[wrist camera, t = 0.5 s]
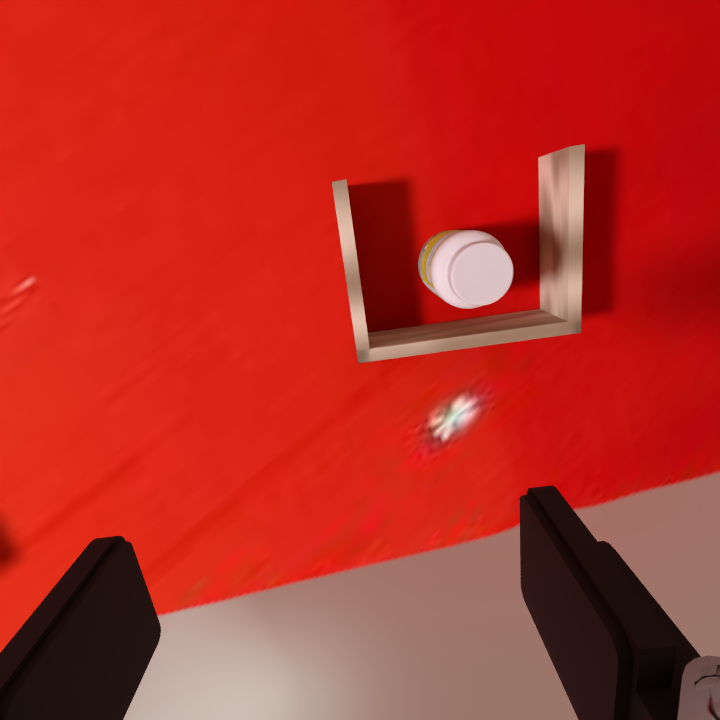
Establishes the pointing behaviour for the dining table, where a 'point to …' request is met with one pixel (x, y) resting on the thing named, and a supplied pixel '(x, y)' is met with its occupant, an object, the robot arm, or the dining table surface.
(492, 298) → the supplement bottle
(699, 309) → the dining table surface
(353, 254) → the open-sided box
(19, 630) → the robot arm
